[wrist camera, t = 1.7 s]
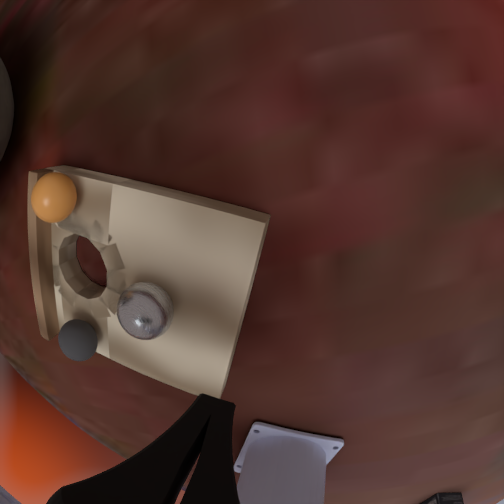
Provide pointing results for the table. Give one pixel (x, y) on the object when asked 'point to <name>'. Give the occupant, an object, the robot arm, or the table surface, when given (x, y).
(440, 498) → the small box
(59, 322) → the bearing plate
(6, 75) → the bowl
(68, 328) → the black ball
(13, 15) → the table surface
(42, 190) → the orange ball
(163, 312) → the steel ball
